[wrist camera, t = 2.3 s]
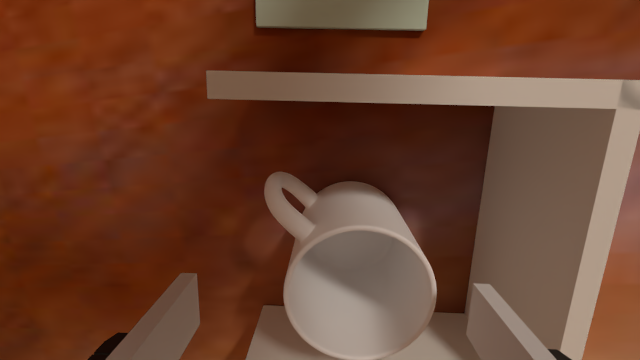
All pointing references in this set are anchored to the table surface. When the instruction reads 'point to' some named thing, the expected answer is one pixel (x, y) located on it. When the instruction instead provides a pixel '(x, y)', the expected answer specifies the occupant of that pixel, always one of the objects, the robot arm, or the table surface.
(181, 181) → the table surface
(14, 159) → the table surface
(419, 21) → the mat
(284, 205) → the cup
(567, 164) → the cubby
